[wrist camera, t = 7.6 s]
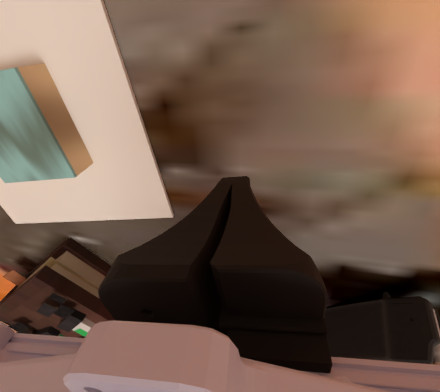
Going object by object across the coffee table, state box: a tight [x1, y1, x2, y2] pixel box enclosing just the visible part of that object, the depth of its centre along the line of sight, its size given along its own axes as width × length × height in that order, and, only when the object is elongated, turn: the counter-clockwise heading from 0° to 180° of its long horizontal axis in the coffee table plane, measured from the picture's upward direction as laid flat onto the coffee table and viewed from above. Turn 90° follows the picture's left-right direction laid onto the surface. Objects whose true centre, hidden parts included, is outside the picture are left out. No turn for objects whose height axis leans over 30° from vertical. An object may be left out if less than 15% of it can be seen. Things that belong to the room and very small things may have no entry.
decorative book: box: [0, 238, 115, 338], centre depth 38 cm, size 19×8×30 cm
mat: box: [0, 0, 174, 224], centre depth 23 cm, size 24×22×1 cm
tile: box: [0, 63, 93, 183], centre depth 21 cm, size 9×3×8 cm
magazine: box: [324, 291, 440, 365], centre depth 32 cm, size 17×3×30 cm
